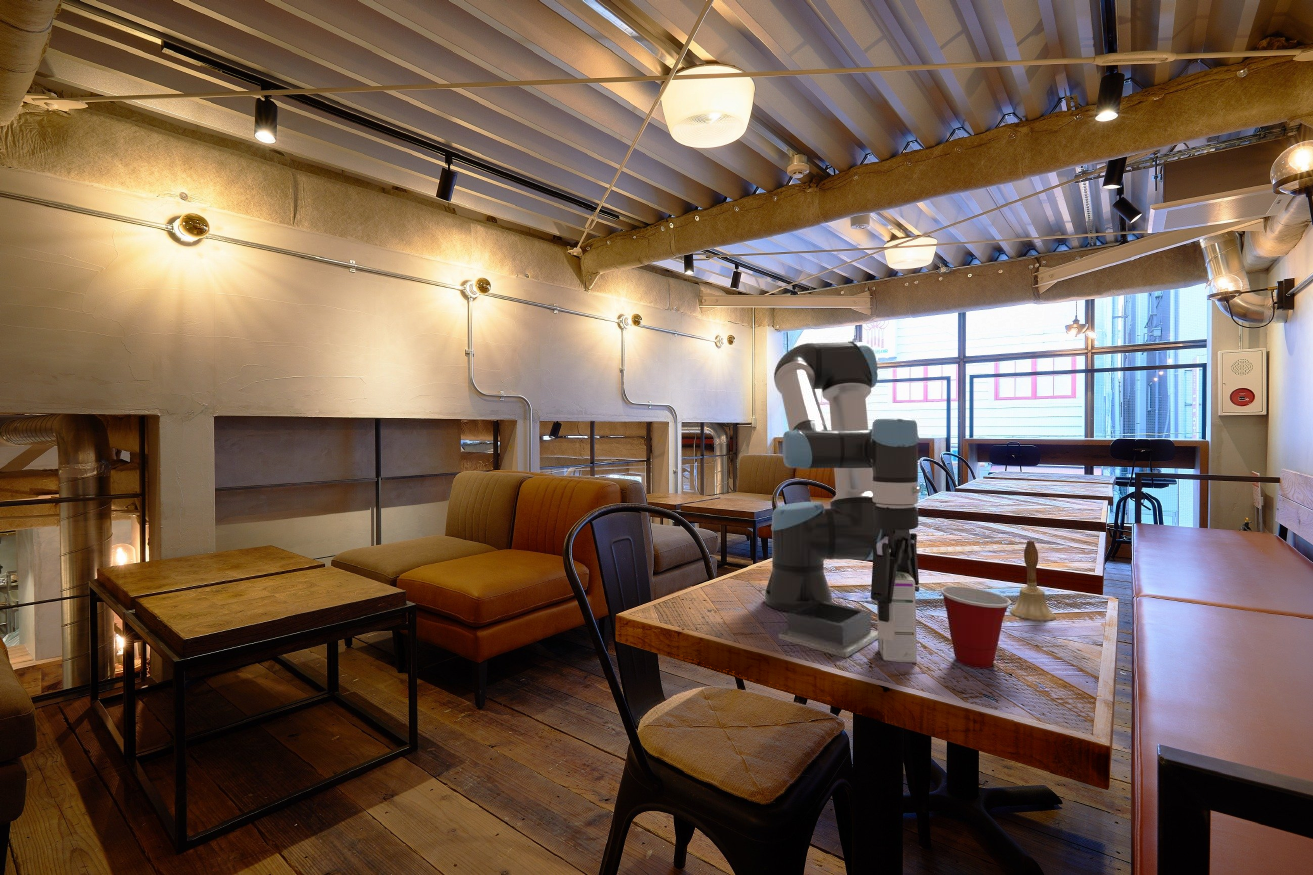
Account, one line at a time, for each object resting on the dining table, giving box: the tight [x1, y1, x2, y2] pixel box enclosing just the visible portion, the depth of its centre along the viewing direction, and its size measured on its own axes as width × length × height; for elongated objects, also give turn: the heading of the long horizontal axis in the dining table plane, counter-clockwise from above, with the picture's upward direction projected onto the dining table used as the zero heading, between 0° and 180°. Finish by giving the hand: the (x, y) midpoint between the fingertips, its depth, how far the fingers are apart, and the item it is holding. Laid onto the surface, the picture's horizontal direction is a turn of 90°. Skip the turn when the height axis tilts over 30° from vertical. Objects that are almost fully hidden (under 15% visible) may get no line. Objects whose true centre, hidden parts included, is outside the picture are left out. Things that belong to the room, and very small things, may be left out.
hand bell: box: [1009, 540, 1056, 622], centre depth 124 cm, size 8×8×16 cm
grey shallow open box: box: [778, 600, 878, 659], centre depth 112 cm, size 14×14×5 cm
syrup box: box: [877, 571, 918, 664], centre depth 103 cm, size 6×6×14 cm
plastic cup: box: [940, 585, 1012, 669], centre depth 100 cm, size 11×11×12 cm
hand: (896, 632), depth 103 cm, fingers closed on syrup box, 8 cm apart
